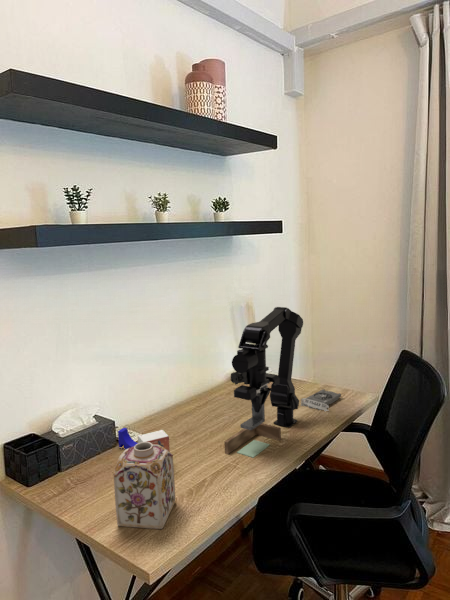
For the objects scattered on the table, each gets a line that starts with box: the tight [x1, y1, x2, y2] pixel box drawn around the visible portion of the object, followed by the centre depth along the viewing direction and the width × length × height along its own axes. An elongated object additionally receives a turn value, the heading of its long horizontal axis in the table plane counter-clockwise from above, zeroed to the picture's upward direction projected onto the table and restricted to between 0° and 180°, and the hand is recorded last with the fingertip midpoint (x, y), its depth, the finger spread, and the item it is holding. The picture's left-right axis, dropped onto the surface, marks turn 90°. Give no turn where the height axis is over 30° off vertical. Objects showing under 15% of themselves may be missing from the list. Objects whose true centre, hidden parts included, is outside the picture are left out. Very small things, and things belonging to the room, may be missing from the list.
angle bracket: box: [239, 403, 266, 430], centre depth 144 cm, size 8×4×6 cm, turn 144°
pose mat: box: [236, 439, 271, 459], centre depth 146 cm, size 10×6×1 cm, turn 144°
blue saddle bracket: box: [117, 427, 138, 450], centre depth 149 cm, size 12×4×6 cm, turn 65°
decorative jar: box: [112, 442, 176, 530], centre depth 112 cm, size 12×12×18 cm
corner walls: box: [224, 422, 282, 455], centre depth 147 cm, size 18×10×4 cm, turn 144°
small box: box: [137, 429, 171, 453], centre depth 135 cm, size 8×6×10 cm
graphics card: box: [300, 388, 342, 412], centre depth 182 cm, size 17×4×12 cm
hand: (258, 411), depth 147 cm, fingers closed on angle bracket
